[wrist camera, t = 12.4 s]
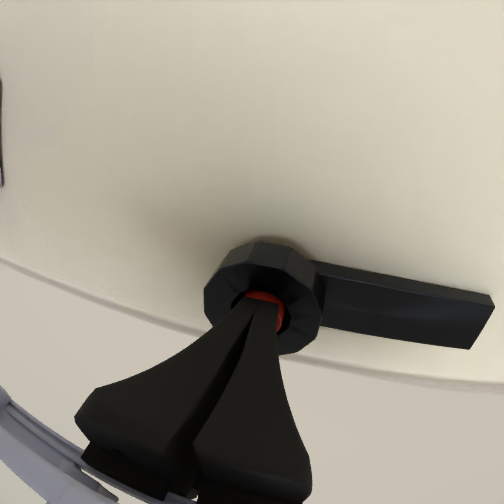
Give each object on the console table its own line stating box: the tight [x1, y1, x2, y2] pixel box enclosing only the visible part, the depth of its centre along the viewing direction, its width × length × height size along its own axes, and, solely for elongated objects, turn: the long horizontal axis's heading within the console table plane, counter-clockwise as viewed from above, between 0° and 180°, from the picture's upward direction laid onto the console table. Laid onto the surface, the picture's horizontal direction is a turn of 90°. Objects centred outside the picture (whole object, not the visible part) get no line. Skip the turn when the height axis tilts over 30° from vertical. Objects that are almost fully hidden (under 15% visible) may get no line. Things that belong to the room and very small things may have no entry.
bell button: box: [243, 290, 286, 331], centre depth 13 cm, size 2×2×2 cm
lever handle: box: [204, 241, 495, 355], centre depth 12 cm, size 13×5×2 cm, turn 86°
